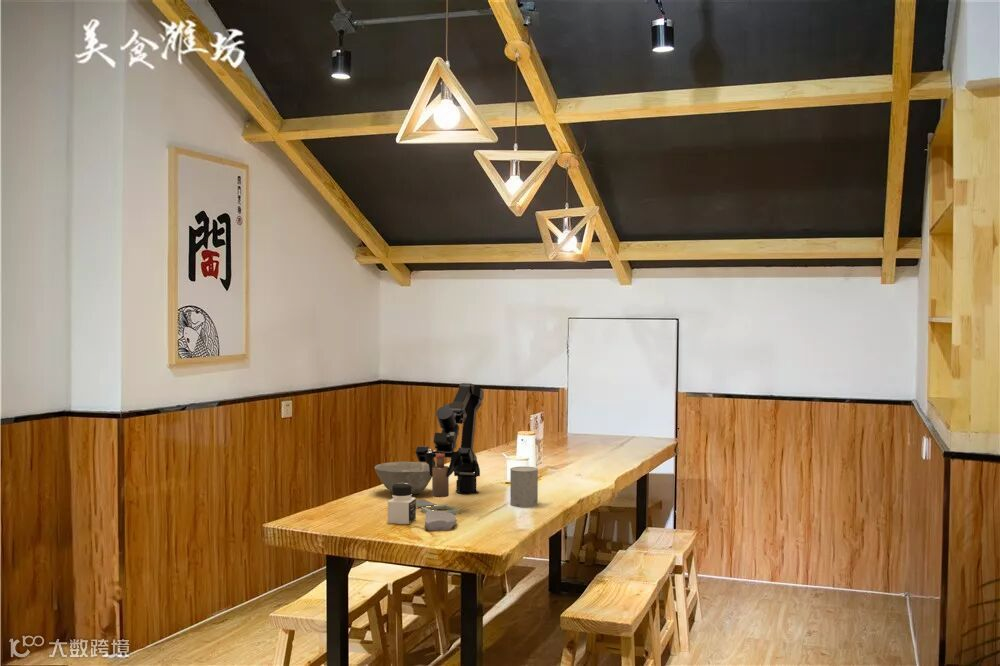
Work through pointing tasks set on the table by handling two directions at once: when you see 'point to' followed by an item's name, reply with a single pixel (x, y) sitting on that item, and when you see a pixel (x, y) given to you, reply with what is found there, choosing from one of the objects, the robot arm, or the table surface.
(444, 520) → the stone block
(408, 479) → the ceramic bowl
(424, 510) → the pocket frame
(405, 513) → the medicine bottle
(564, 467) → the table surface
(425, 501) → the slate pad
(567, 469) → the table surface
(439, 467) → the sauce bottle
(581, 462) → the table surface
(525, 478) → the grey matte cylinder
